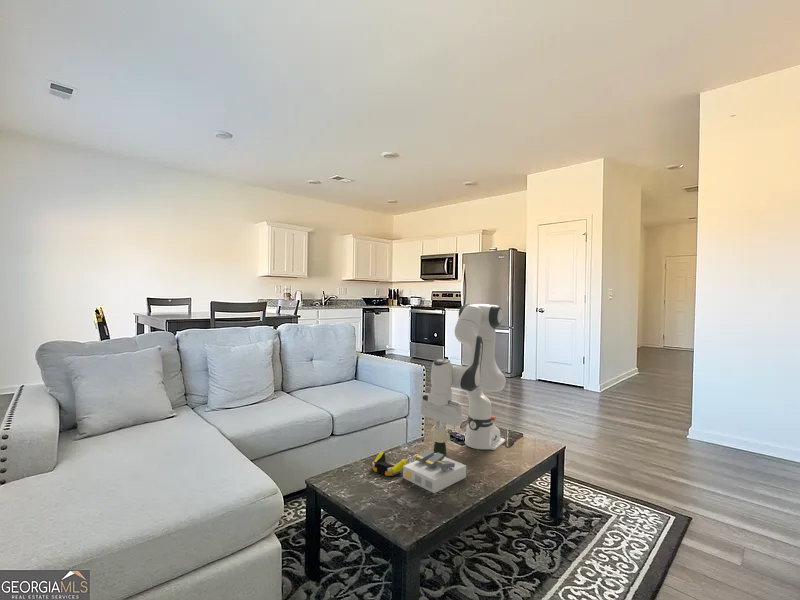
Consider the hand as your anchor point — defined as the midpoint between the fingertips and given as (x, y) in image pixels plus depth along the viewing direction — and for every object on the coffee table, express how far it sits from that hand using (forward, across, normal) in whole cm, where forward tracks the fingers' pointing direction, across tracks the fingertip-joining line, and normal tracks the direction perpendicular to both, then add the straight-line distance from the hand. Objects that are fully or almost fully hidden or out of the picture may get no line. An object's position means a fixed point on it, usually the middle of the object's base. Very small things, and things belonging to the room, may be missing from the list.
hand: (440, 431), depth 166 cm
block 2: (+11, -6, +4) cm, 13 cm away
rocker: (+11, 0, +4) cm, 12 cm away
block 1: (+11, +5, +4) cm, 13 cm away
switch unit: (+18, 0, +4) cm, 19 cm away
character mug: (+19, +14, -16) cm, 28 cm away
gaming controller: (+19, +17, +14) cm, 29 cm away
